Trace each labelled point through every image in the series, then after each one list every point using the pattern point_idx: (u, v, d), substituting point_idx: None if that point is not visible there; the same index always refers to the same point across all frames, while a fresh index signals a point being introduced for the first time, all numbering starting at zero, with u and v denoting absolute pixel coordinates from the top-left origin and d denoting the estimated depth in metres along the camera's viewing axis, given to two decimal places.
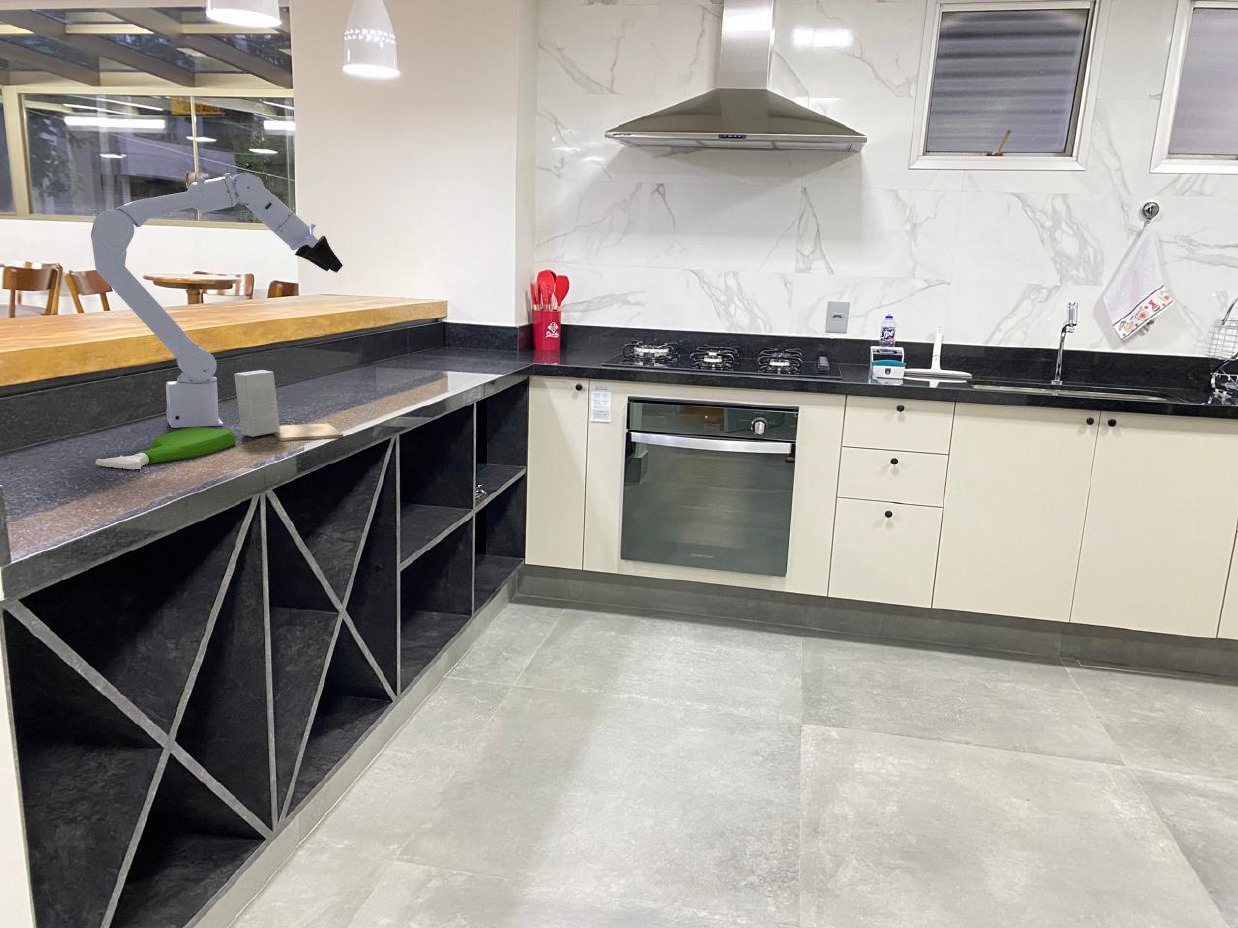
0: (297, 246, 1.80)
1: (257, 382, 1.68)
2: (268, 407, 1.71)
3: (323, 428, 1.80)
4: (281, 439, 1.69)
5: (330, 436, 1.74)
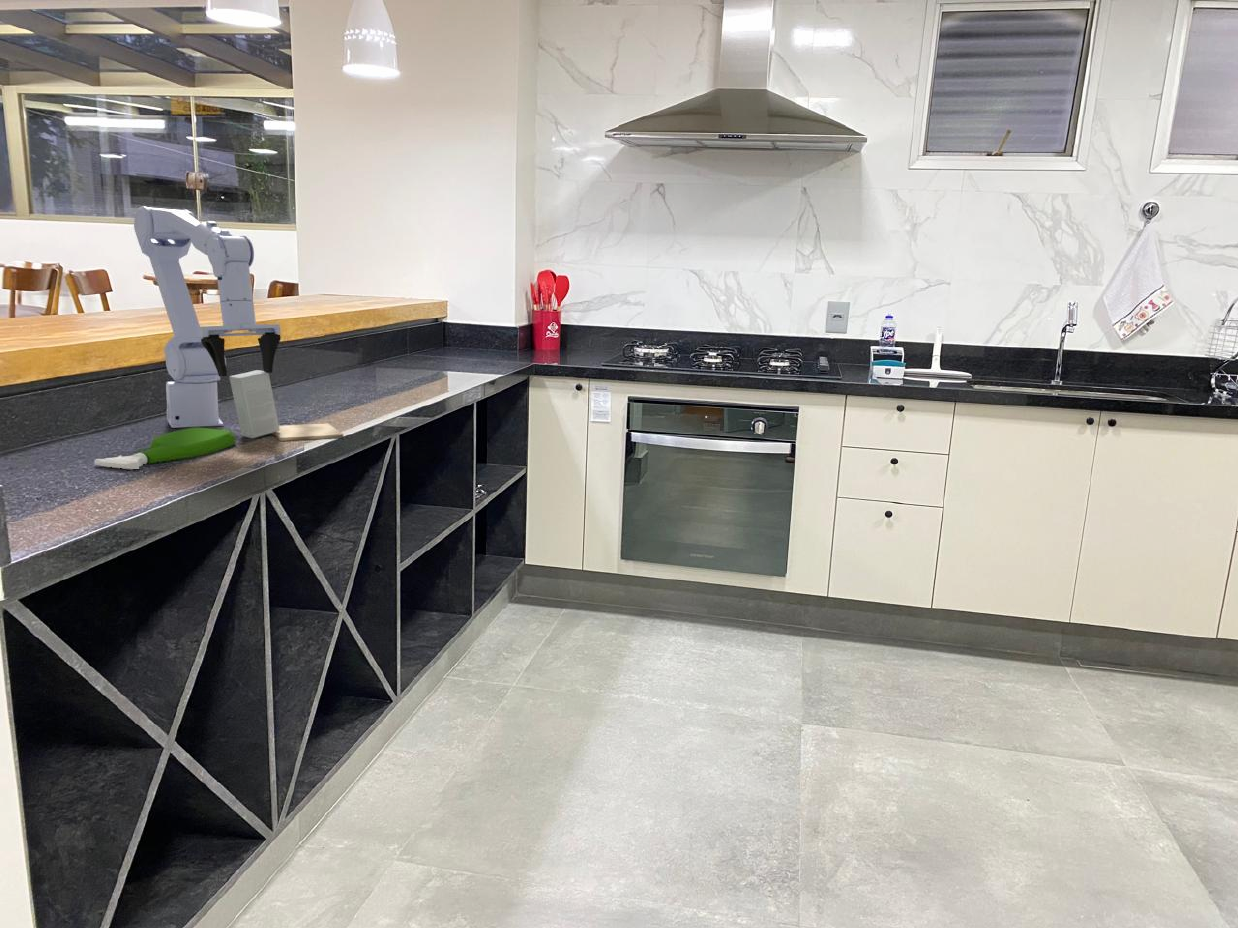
0: None
1: (252, 384, 1.68)
2: (266, 408, 1.70)
3: (323, 428, 1.80)
4: (281, 439, 1.69)
5: (330, 436, 1.74)
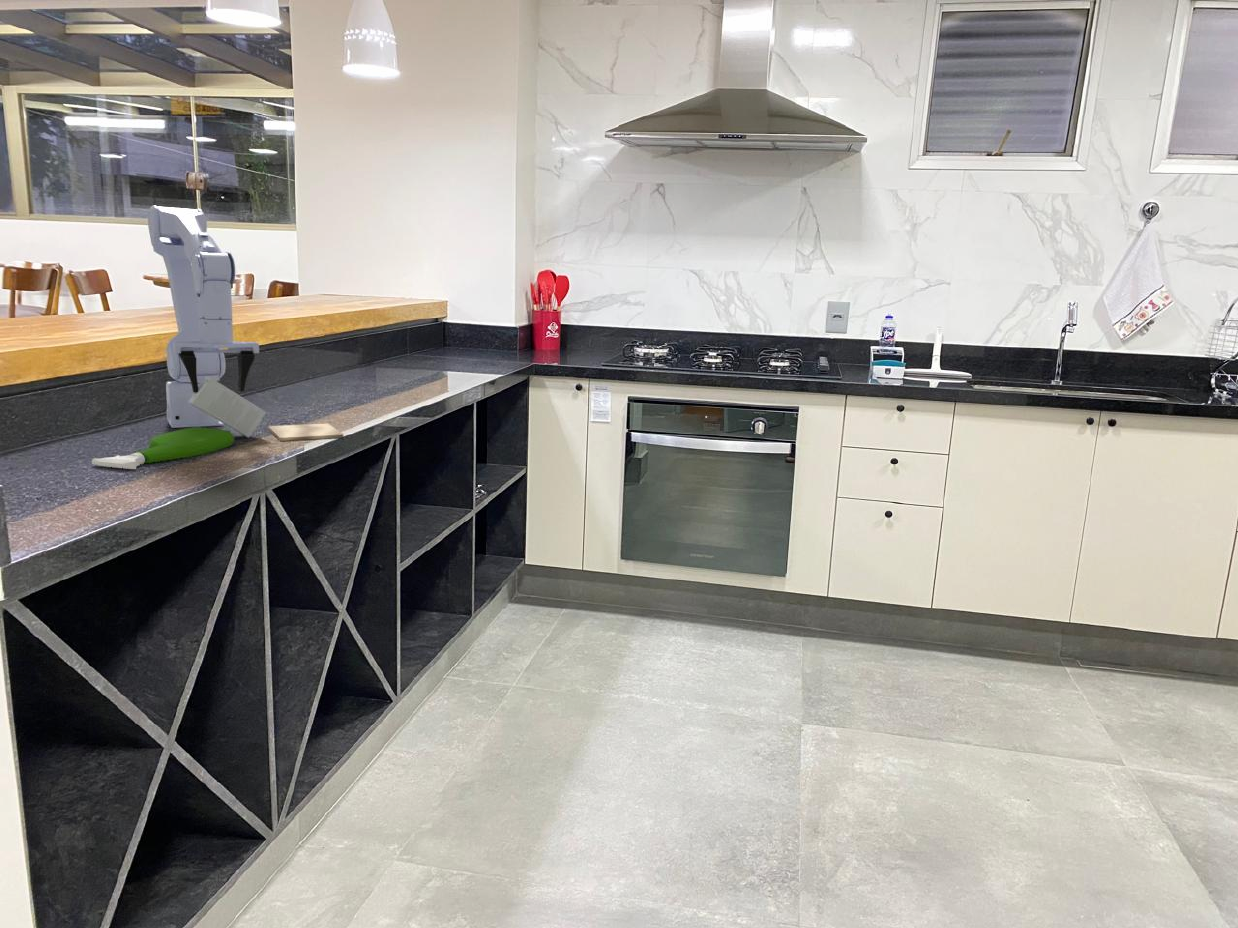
0: None
1: (207, 398, 1.63)
2: (237, 406, 1.67)
3: (323, 428, 1.80)
4: (281, 439, 1.69)
5: (330, 436, 1.74)
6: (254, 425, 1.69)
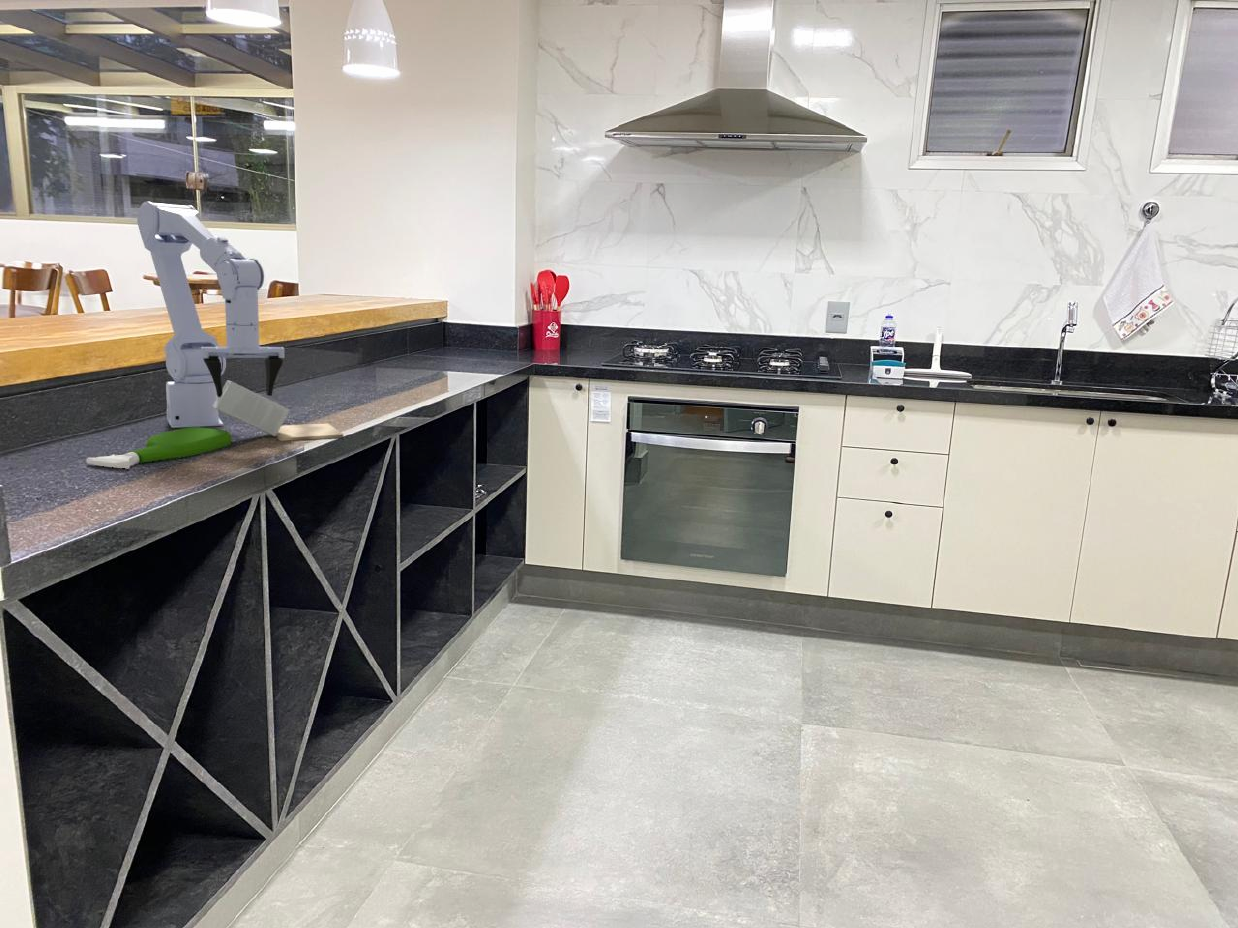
0: None
1: (230, 402, 1.66)
2: (261, 406, 1.69)
3: (323, 428, 1.80)
4: (281, 439, 1.69)
5: (330, 436, 1.74)
6: (279, 424, 1.71)
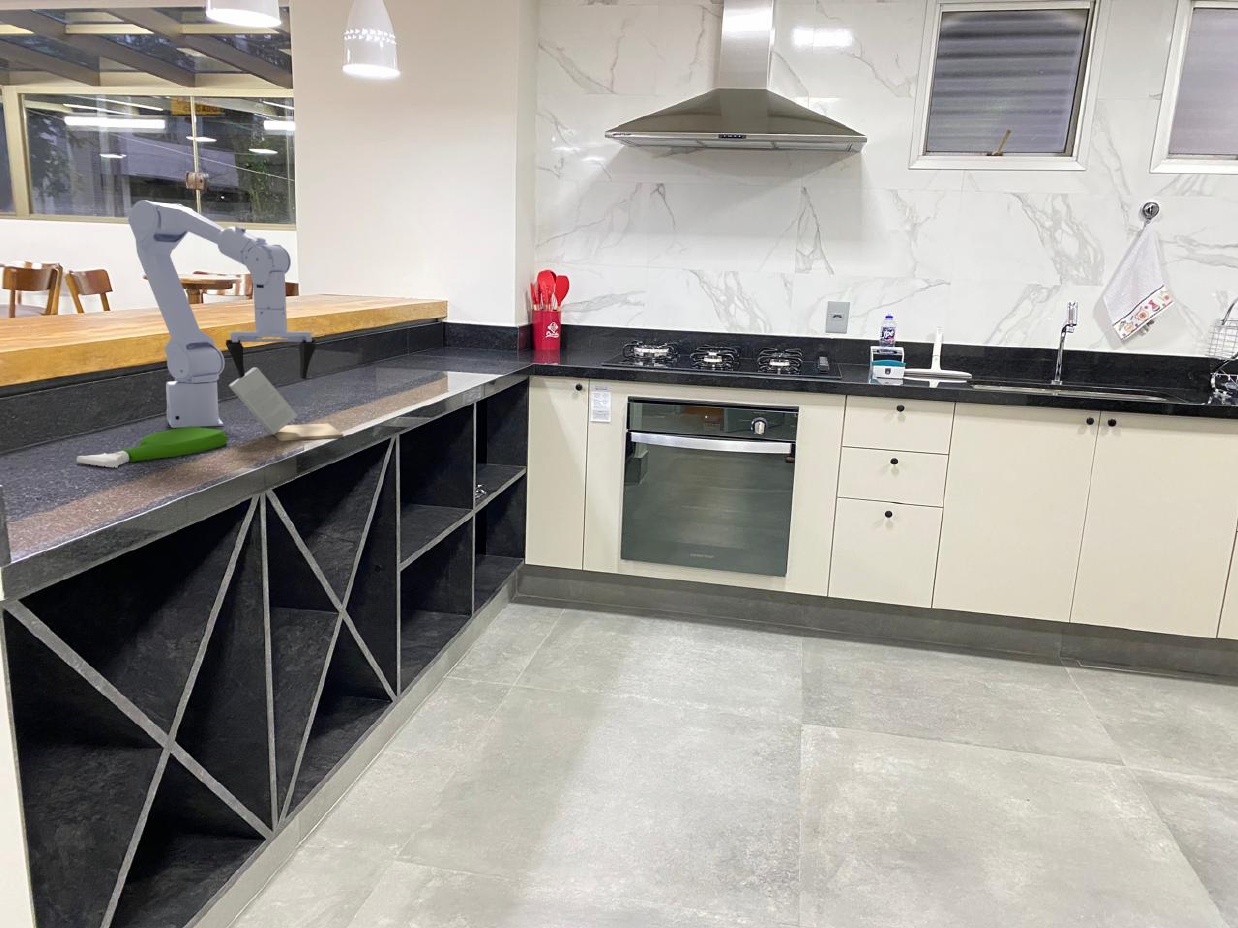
0: None
1: (247, 385, 1.67)
2: (273, 401, 1.70)
3: (323, 428, 1.80)
4: (281, 439, 1.69)
5: (330, 436, 1.74)
6: (282, 424, 1.72)
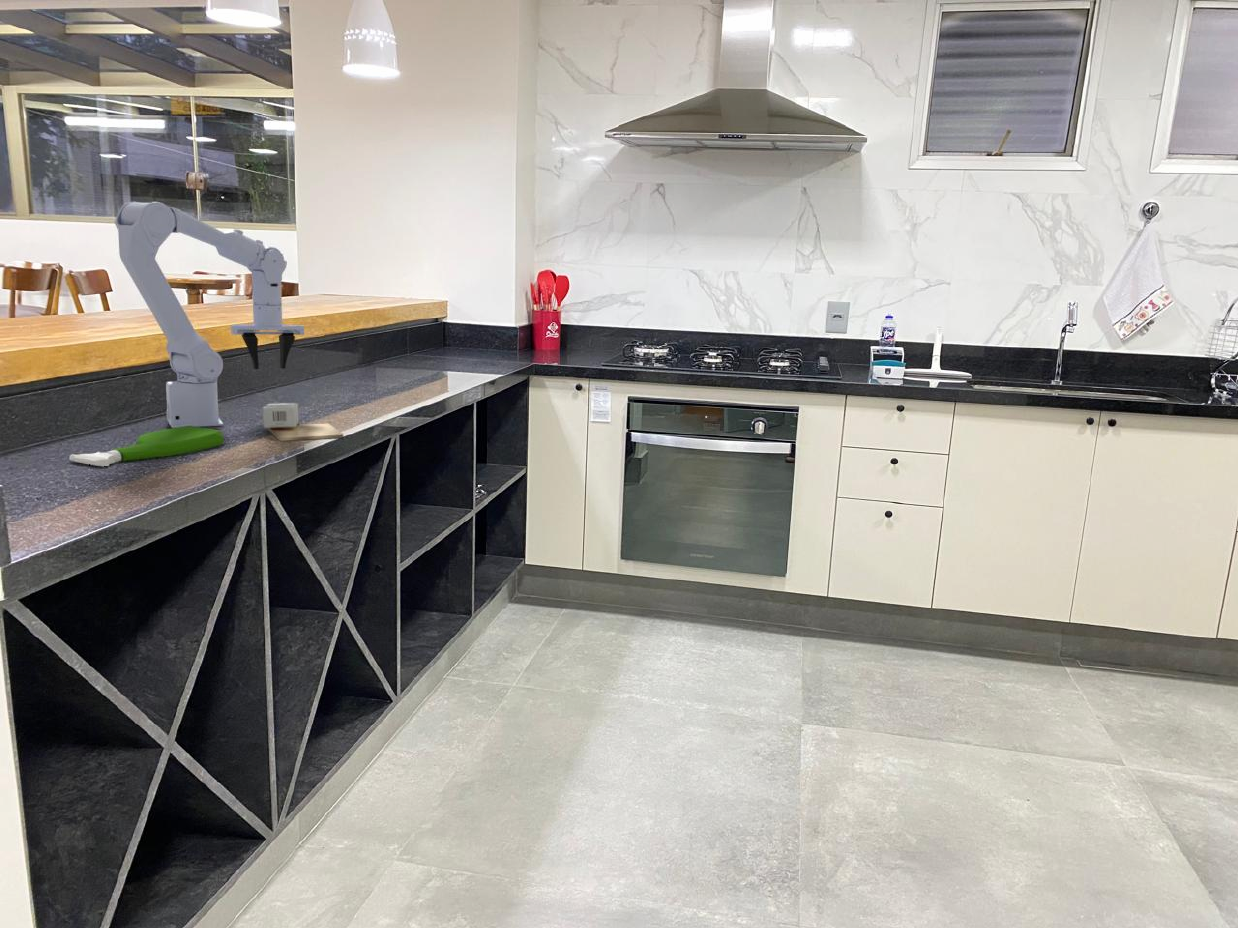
0: None
1: None
2: (286, 405, 1.79)
3: (323, 428, 1.80)
4: (281, 439, 1.69)
5: (330, 436, 1.74)
6: (276, 406, 1.74)
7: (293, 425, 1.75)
